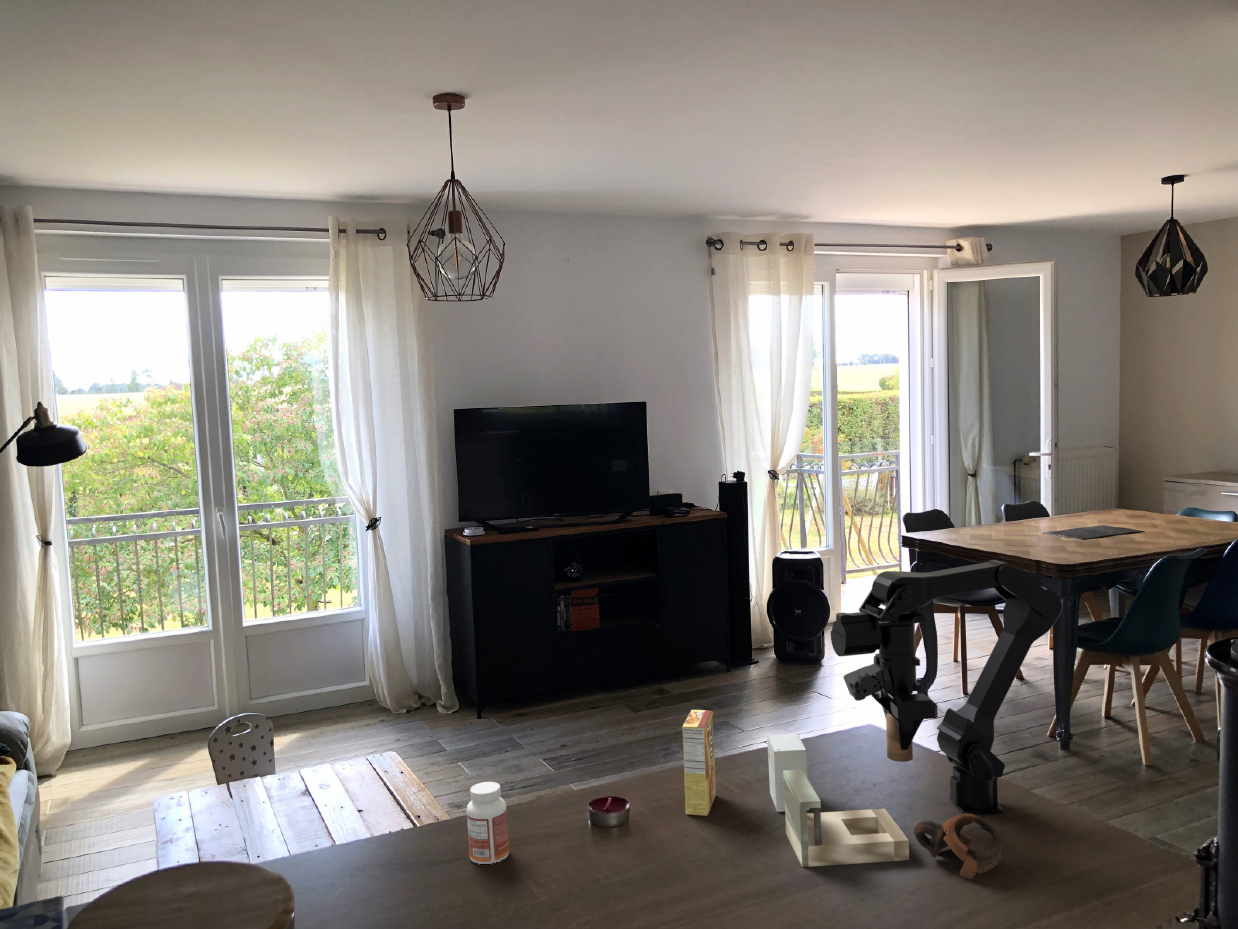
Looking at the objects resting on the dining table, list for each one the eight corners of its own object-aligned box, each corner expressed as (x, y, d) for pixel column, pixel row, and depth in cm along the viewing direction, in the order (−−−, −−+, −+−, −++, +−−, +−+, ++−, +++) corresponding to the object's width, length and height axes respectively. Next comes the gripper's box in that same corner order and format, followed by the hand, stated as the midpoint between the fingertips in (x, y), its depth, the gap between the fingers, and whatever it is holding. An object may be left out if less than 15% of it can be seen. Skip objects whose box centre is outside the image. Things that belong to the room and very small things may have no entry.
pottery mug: (987, 850, 140) (1004, 815, 135) (991, 906, 132) (1010, 871, 128) (906, 827, 142) (921, 792, 137) (906, 881, 134) (922, 846, 130)
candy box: (693, 793, 164) (689, 709, 163) (717, 795, 163) (713, 709, 162) (684, 815, 156) (680, 726, 155) (709, 817, 154) (705, 727, 154)
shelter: (884, 825, 148) (882, 764, 148) (910, 861, 136) (908, 795, 136) (785, 831, 148) (782, 770, 147) (802, 868, 136) (800, 802, 135)
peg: (907, 752, 153) (906, 710, 152) (916, 761, 149) (915, 718, 148) (883, 753, 153) (882, 711, 152) (891, 762, 149) (890, 719, 148)
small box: (809, 811, 155) (807, 750, 154) (776, 813, 155) (773, 751, 154) (801, 792, 163) (798, 733, 162) (769, 793, 163) (767, 734, 162)
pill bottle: (504, 844, 148) (500, 776, 148) (513, 861, 142) (509, 791, 142) (466, 852, 146) (461, 783, 145) (473, 870, 140) (469, 798, 140)
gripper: (832, 639, 159) (835, 728, 160) (865, 669, 140) (868, 769, 141) (896, 635, 159) (899, 724, 160) (937, 665, 140) (940, 765, 141)
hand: (899, 744), depth 151 cm, fingers closed on peg, 4 cm apart
